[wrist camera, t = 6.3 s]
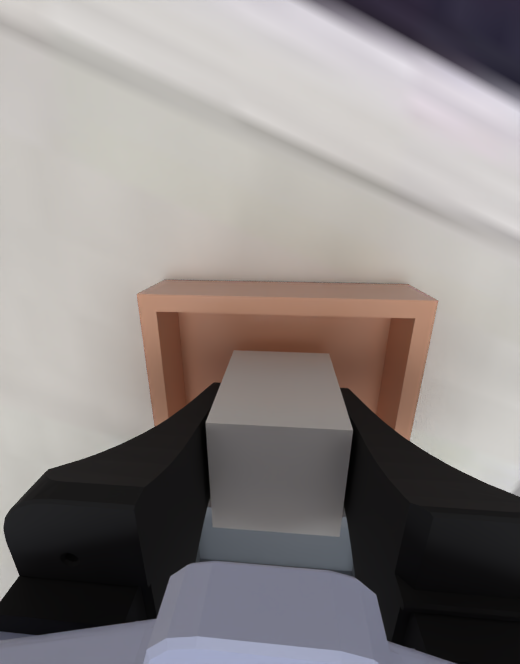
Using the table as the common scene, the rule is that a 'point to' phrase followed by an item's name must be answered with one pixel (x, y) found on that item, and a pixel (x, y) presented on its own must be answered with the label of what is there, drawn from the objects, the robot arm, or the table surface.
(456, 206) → the table surface
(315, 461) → the stone block
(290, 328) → the terracotta bin
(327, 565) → the charcoal bin
